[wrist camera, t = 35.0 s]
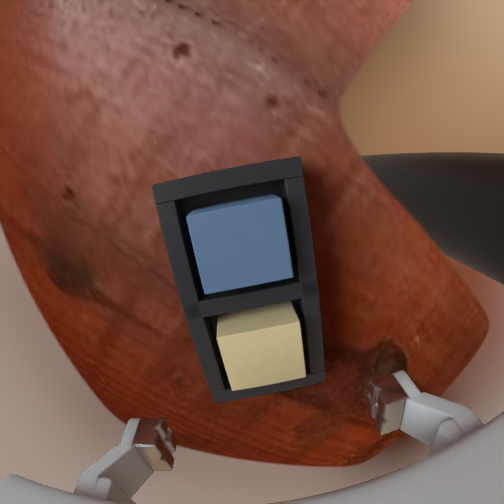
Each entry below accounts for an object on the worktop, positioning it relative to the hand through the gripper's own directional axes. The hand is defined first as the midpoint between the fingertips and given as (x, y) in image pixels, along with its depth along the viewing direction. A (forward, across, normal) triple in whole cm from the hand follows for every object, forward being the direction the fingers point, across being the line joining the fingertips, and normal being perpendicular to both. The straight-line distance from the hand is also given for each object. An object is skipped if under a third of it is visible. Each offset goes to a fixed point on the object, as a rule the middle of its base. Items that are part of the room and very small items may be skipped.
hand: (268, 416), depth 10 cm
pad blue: (+8, 0, -5) cm, 10 cm away
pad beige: (+8, 0, +1) cm, 9 cm away
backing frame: (+9, 0, -2) cm, 10 cm away
